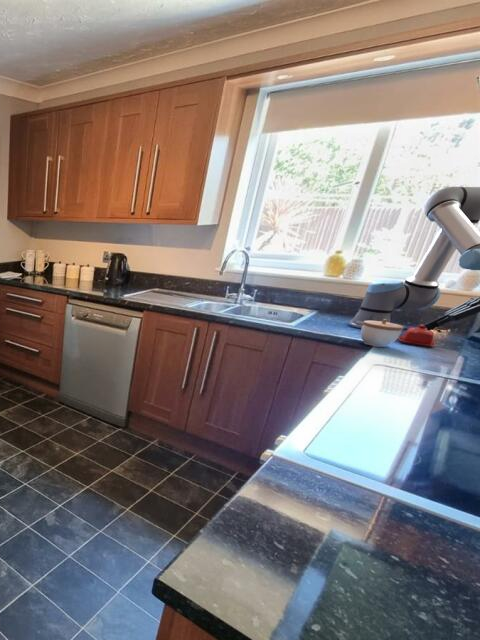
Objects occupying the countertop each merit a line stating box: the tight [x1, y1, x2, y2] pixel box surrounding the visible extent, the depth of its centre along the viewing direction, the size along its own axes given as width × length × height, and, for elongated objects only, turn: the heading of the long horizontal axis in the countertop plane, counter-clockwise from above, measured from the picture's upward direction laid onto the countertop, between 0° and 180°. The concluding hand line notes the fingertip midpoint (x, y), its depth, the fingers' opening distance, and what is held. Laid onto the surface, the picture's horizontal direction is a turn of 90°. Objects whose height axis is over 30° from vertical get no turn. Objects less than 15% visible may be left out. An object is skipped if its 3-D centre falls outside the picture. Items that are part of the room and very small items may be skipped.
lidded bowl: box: [360, 319, 405, 348], centre depth 179 cm, size 13×13×11 cm
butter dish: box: [398, 324, 436, 348], centre depth 184 cm, size 12×12×8 cm
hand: (426, 327), depth 171 cm, fingers closed
